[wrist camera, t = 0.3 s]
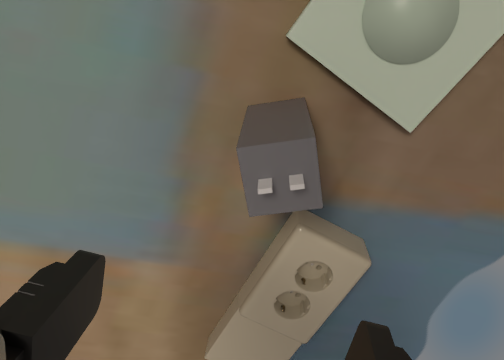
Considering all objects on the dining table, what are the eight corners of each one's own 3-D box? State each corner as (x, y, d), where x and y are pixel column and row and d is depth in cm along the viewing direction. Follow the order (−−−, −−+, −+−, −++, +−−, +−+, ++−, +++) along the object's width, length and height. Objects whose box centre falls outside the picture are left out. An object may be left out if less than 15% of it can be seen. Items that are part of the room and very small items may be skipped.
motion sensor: (402, -130, 25) (409, -136, 24) (531, -7, 28) (543, -8, 26) (285, 34, 30) (286, 36, 28) (405, 128, 32) (411, 133, 31)
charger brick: (247, 105, 32) (233, 156, 22) (304, 97, 32) (317, 145, 21) (256, 158, 34) (247, 228, 24) (310, 150, 33) (325, 219, 23)
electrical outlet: (202, 365, 39) (299, 226, 32) (209, 334, 43) (297, 203, 36) (267, 393, 40) (374, 265, 33) (268, 360, 44) (364, 238, 37)
